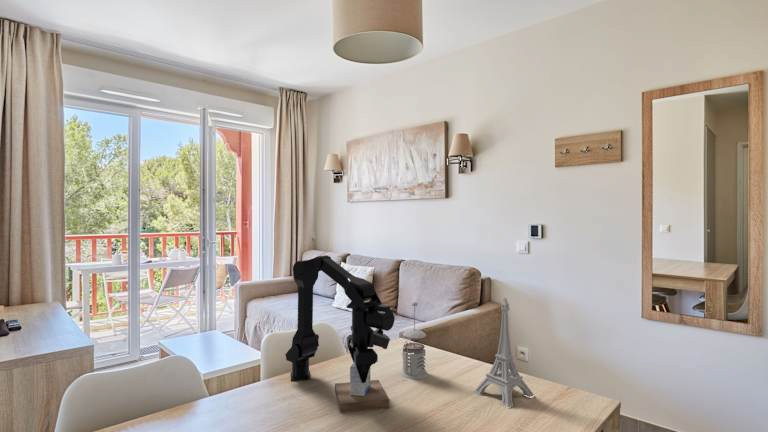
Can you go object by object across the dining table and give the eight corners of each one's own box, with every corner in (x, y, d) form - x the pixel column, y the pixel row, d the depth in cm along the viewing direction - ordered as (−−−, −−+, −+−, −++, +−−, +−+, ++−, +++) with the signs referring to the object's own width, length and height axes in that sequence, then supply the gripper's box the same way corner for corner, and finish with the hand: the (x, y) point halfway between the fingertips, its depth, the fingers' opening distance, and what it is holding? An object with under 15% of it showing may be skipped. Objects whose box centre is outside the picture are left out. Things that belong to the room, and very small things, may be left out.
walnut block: (334, 391, 128) (334, 383, 128) (378, 387, 132) (378, 379, 132) (340, 412, 115) (340, 403, 115) (389, 407, 118) (389, 399, 118)
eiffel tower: (500, 382, 137) (501, 292, 137) (535, 397, 126) (536, 299, 126) (472, 392, 129) (474, 297, 129) (508, 409, 118) (509, 304, 118)
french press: (432, 372, 145) (433, 301, 145) (417, 383, 135) (418, 307, 135) (408, 366, 150) (409, 298, 150) (391, 376, 140) (392, 303, 140)
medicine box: (364, 397, 119) (364, 367, 119) (349, 395, 120) (349, 366, 120) (370, 385, 127) (370, 357, 127) (356, 384, 128) (356, 356, 128)
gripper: (395, 331, 116) (394, 387, 116) (380, 315, 134) (380, 363, 134) (356, 334, 113) (355, 390, 113) (346, 317, 132) (346, 365, 132)
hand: (360, 376), depth 123 cm, fingers open, 9 cm apart
